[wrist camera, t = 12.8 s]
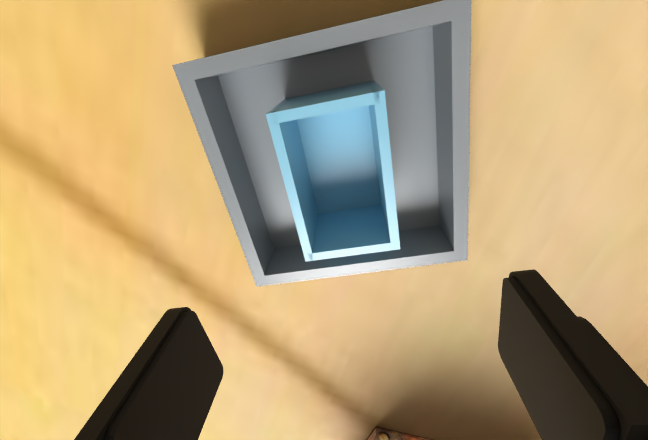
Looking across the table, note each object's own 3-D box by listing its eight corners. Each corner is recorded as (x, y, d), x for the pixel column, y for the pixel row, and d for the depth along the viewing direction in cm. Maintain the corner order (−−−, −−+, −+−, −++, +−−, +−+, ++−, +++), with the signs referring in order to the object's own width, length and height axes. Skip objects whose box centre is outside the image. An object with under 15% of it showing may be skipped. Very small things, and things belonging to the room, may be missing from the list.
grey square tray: (443, 6, 21) (471, -7, 16) (448, 227, 28) (467, 260, 24) (205, 63, 23) (172, 65, 19) (269, 253, 31) (256, 286, 26)
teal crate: (373, 80, 22) (384, 90, 16) (387, 206, 27) (400, 249, 21) (284, 99, 23) (265, 114, 17) (313, 218, 27) (305, 261, 22)
